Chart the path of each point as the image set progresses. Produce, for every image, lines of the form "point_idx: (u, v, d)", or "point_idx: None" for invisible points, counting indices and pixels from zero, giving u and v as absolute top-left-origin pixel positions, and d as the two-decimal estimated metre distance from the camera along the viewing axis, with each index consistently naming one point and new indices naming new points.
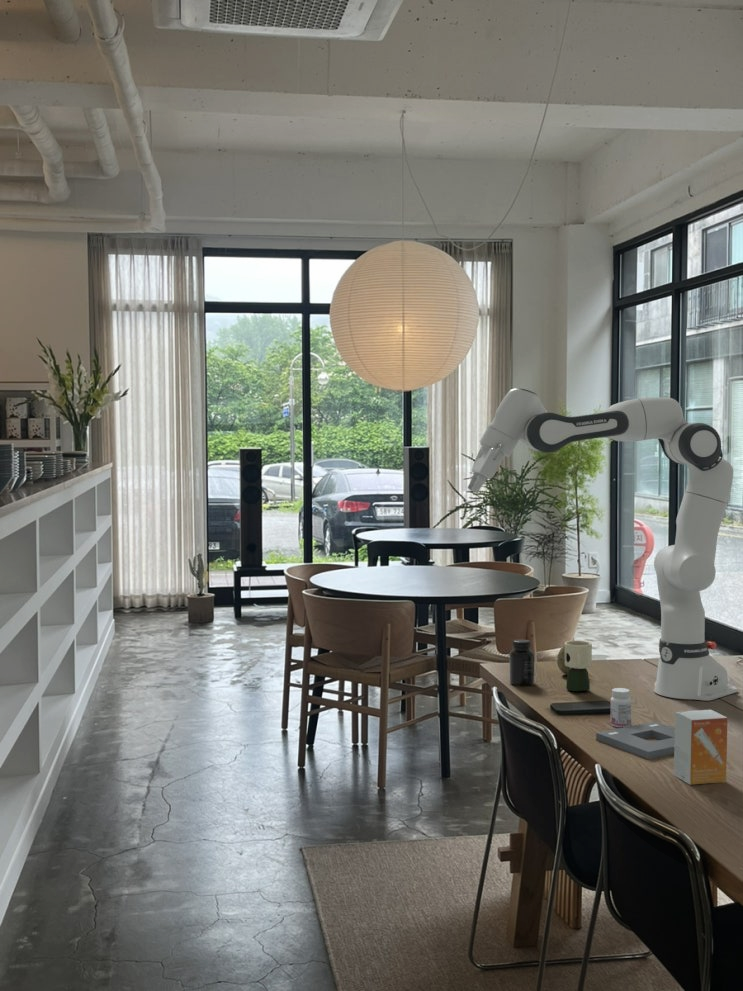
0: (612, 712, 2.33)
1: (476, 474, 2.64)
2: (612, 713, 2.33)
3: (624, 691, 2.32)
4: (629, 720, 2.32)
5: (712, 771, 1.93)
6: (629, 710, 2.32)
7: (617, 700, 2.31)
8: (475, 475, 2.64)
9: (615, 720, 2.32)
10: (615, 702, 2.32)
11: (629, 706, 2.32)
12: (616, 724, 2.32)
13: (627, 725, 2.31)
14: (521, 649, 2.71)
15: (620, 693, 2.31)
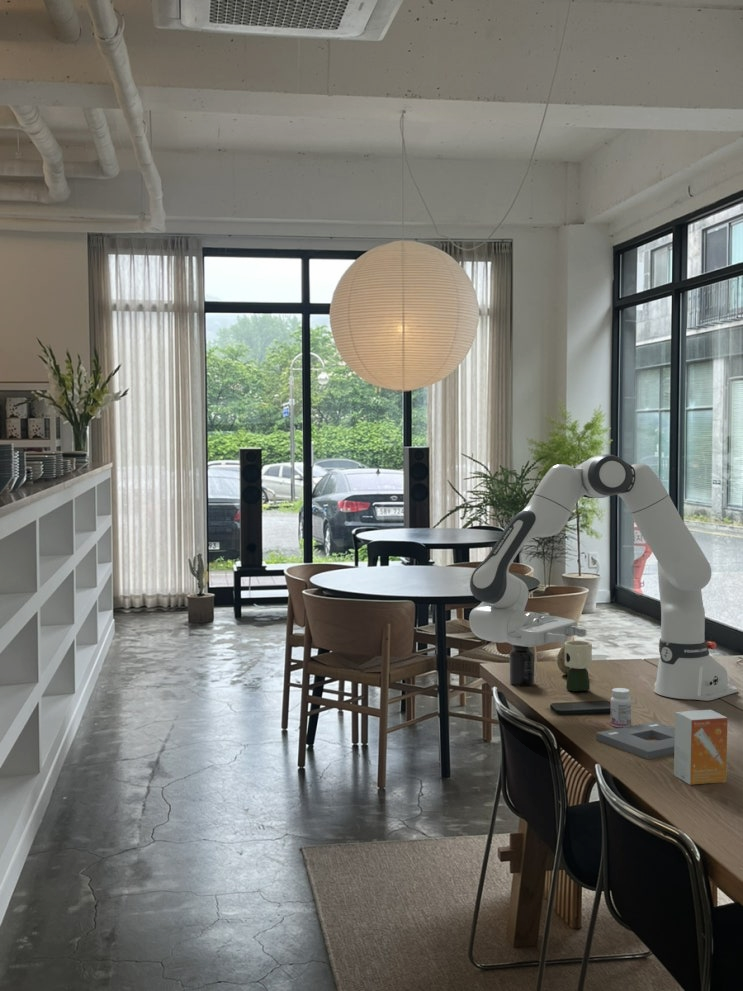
0: (612, 712, 2.33)
1: (569, 632, 2.47)
2: (612, 713, 2.33)
3: (624, 691, 2.32)
4: (629, 720, 2.32)
5: (712, 771, 1.93)
6: (629, 710, 2.32)
7: (617, 700, 2.31)
8: (571, 633, 2.47)
9: (615, 720, 2.32)
10: (615, 702, 2.32)
11: (629, 706, 2.32)
12: (616, 724, 2.32)
13: (627, 725, 2.31)
14: (521, 648, 2.71)
15: (620, 693, 2.31)
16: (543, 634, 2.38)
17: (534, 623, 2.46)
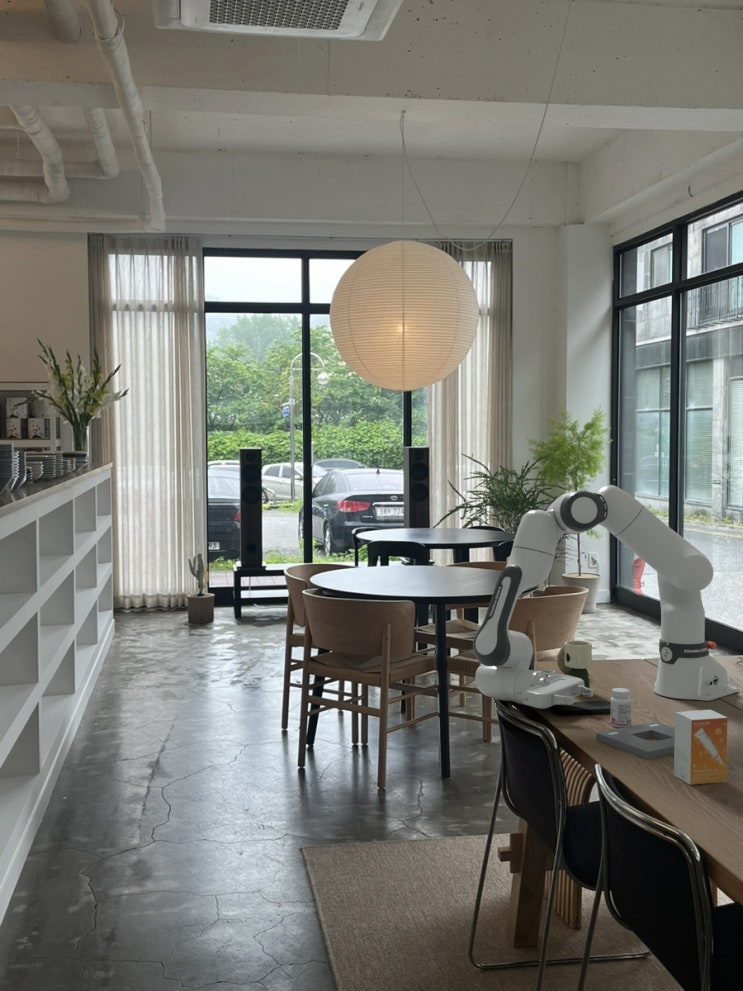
0: (612, 712, 2.33)
1: (576, 691, 2.47)
2: (612, 713, 2.33)
3: (624, 691, 2.32)
4: (629, 720, 2.32)
5: (712, 771, 1.93)
6: (629, 710, 2.32)
7: (617, 700, 2.31)
8: (578, 692, 2.47)
9: (615, 720, 2.32)
10: (615, 702, 2.32)
11: (629, 706, 2.32)
12: (616, 724, 2.32)
13: (627, 725, 2.31)
14: None
15: (620, 693, 2.31)
16: (550, 696, 2.38)
17: (541, 683, 2.45)
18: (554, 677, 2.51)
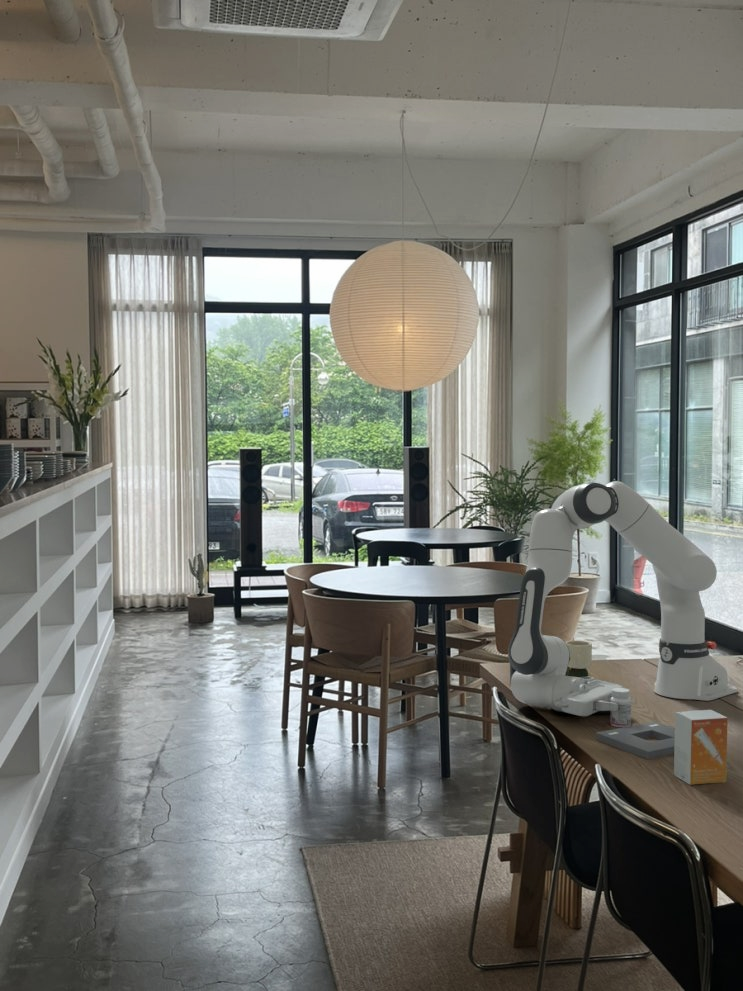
0: (612, 712, 2.33)
1: None
2: (612, 713, 2.33)
3: (624, 691, 2.32)
4: (629, 720, 2.32)
5: (712, 771, 1.93)
6: (629, 710, 2.32)
7: (617, 700, 2.31)
8: None
9: (615, 720, 2.32)
10: None
11: (629, 706, 2.32)
12: (616, 724, 2.32)
13: (627, 724, 2.31)
14: None
15: (620, 693, 2.31)
16: (591, 703, 2.30)
17: (580, 690, 2.38)
18: (593, 683, 2.43)
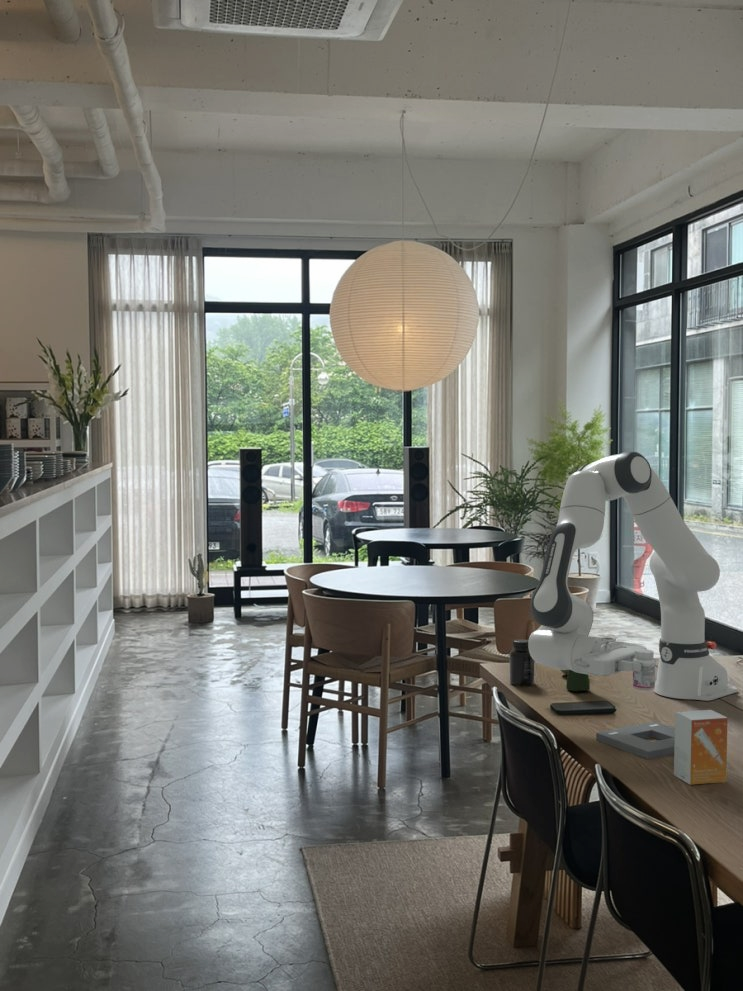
0: (635, 674, 2.20)
1: None
2: (635, 675, 2.20)
3: (648, 652, 2.19)
4: (653, 682, 2.19)
5: (712, 771, 1.93)
6: (653, 672, 2.19)
7: (640, 661, 2.19)
8: None
9: (638, 682, 2.19)
10: None
11: (653, 668, 2.19)
12: (639, 686, 2.19)
13: (650, 687, 2.19)
14: (521, 649, 2.71)
15: (644, 654, 2.19)
16: (613, 663, 2.18)
17: (601, 650, 2.26)
18: (614, 644, 2.31)
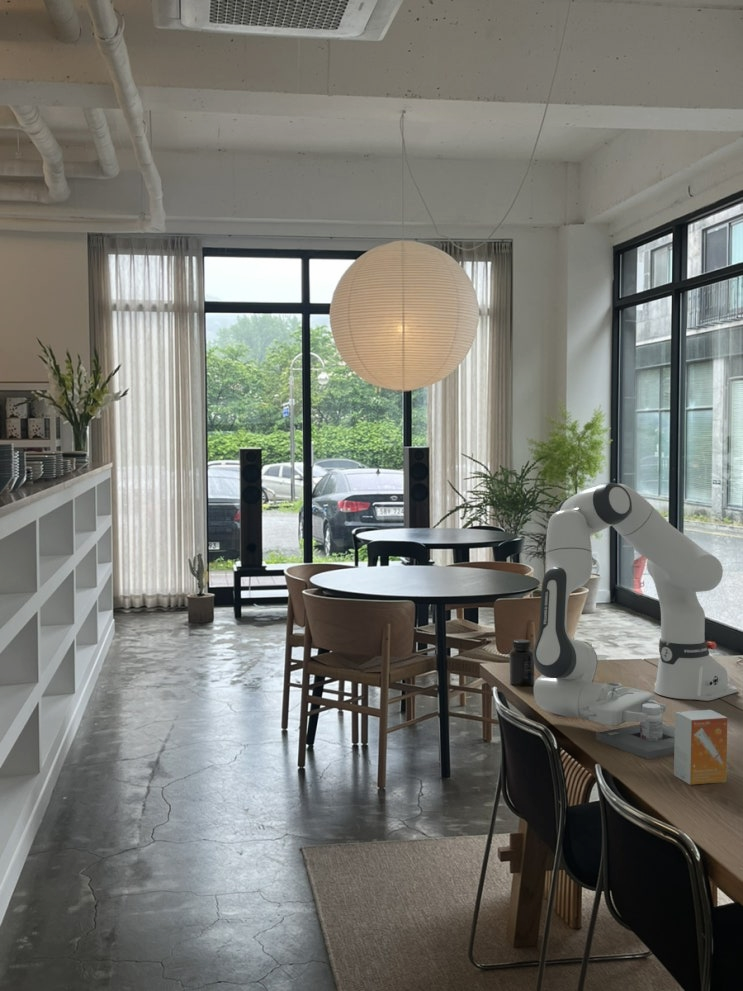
0: (642, 729, 2.18)
1: None
2: (642, 730, 2.18)
3: (655, 707, 2.18)
4: (661, 738, 2.18)
5: (712, 771, 1.93)
6: (661, 727, 2.18)
7: (648, 716, 2.17)
8: None
9: (646, 738, 2.18)
10: None
11: (660, 723, 2.18)
12: None
13: None
14: (521, 649, 2.71)
15: (651, 709, 2.17)
16: (621, 712, 2.16)
17: (608, 698, 2.24)
18: (621, 691, 2.29)
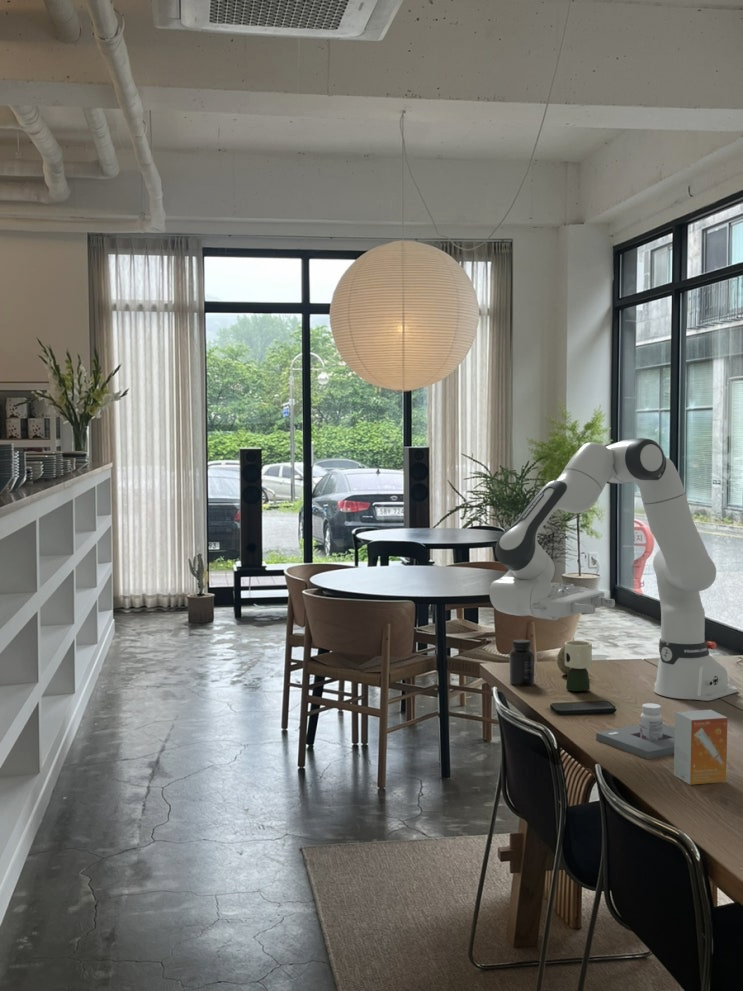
0: (642, 729, 2.18)
1: (596, 603, 2.33)
2: (642, 730, 2.18)
3: (655, 707, 2.18)
4: (661, 738, 2.18)
5: (712, 771, 1.93)
6: (661, 727, 2.18)
7: (648, 716, 2.17)
8: (598, 604, 2.32)
9: (646, 738, 2.18)
10: (646, 718, 2.17)
11: (661, 723, 2.18)
12: None
13: None
14: (521, 648, 2.71)
15: (651, 709, 2.17)
16: (570, 605, 2.23)
17: (559, 594, 2.31)
18: (572, 589, 2.36)
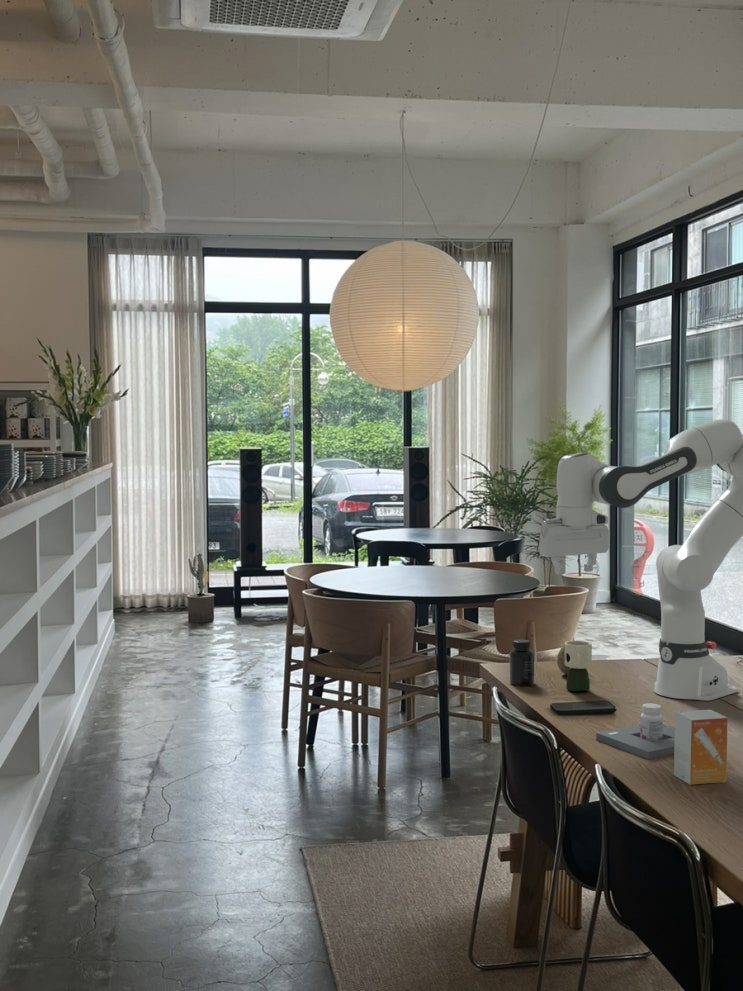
0: (642, 729, 2.18)
1: (588, 553, 2.51)
2: (642, 730, 2.18)
3: (655, 707, 2.18)
4: (661, 738, 2.18)
5: (712, 771, 1.93)
6: (661, 727, 2.18)
7: (648, 716, 2.17)
8: (588, 555, 2.51)
9: (646, 737, 2.18)
10: (646, 718, 2.17)
11: (661, 723, 2.18)
12: None
13: None
14: (521, 649, 2.71)
15: (651, 709, 2.17)
16: None
17: (574, 532, 2.45)
18: (595, 529, 2.48)
